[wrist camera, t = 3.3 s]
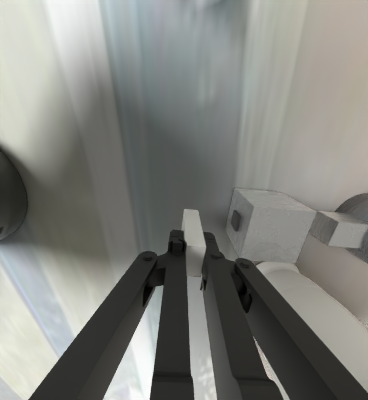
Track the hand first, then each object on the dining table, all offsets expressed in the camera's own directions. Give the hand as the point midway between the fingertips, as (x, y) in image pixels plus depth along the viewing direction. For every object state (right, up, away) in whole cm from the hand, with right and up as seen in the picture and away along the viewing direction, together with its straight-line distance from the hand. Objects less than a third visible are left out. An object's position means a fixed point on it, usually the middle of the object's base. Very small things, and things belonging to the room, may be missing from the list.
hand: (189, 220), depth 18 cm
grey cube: (+8, +1, +4) cm, 9 cm away
